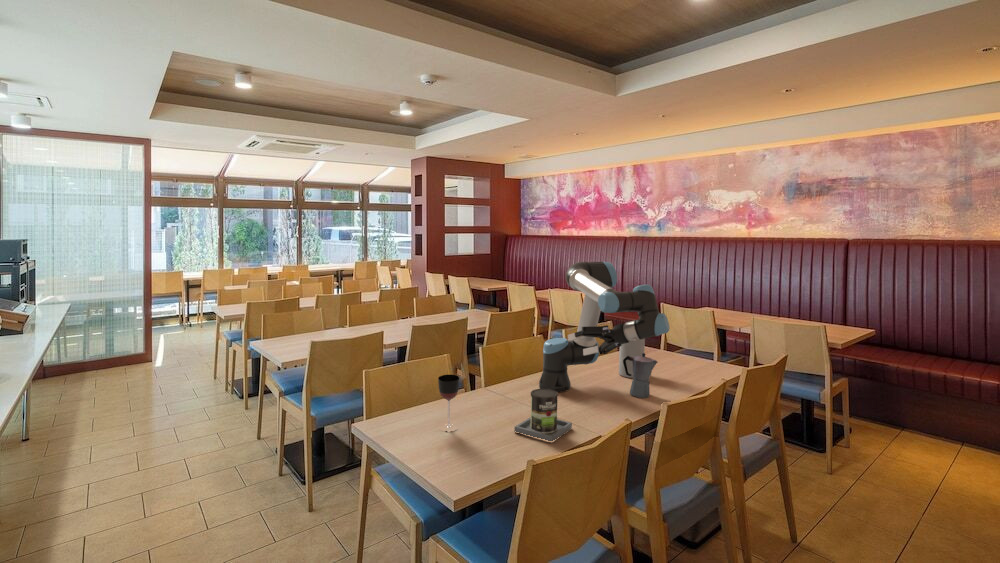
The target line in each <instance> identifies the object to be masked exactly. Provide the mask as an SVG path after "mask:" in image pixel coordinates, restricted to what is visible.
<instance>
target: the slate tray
mask: <svg viewBox="0 0 1000 563" xmlns="http://www.w3.org/2000/svg"><path fill="white" fill-rule="evenodd" d="M530 423H531V416H529V417H528V418H526V419H525V420H523V421H521V422H519V423H518V424H517V425H515V426H514V432H515V431H516V432H519V433H523V434H526V435H530V436H533V437H537V438H541V439H545V440H548V441H553V440H555V439H557V438H558V437H560V436H561V435H563V434H564V433H566V432H567V431H568V432H570V431H571V430H572V429H573V428H572V427H573V423H572V422H570V421H568V420H567V421H566V420H562V419H559V418H557V430H556V431H555V432H553V433H550V434H544V433H540V432H537V431H533V430H531V429H530ZM571 428H572V429H571ZM570 429H571V430H570ZM569 430H570V431H569ZM568 432H567V433H568ZM567 433H566V434H567ZM564 435H565V434H564ZM564 435H563V436H564ZM560 438H561V437H560Z"/></svg>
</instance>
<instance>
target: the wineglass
mask: <svg viewBox="0 0 1000 563" xmlns="http://www.w3.org/2000/svg"><path fill="white" fill-rule="evenodd" d="M437 378H438V379H437V381H438V384H437V385H438V390H439V395H440V396H441V397H442V398H443V399H444V400H446V401H447V424H448V426H447V428H450V427H451V426H450V424H451V400H452V399H455V398H456V396H457V395H458V393H459V387H460V376H459V375H456V374H443V375H440V376H438V377H437Z"/></svg>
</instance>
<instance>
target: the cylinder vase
mask: <svg viewBox="0 0 1000 563" xmlns="http://www.w3.org/2000/svg"><path fill="white" fill-rule="evenodd" d="M645 342H646V338H645V339H641V340H637V341H633V342H630V341H629V343H625V344H622V346H620V347H619V356H618V374H619V375H620V376H621V377H624V378H627V379H633V375H634V374H633V361H630V360H626V365H627V370H628V373H629V374H632V375H631V376H628V375H626V372H625V367H624V364H623V360H624V359H625V358H626V357H627V356H630V357H636V356H642V353H645V347H646V346H645V344H646V343H645Z"/></svg>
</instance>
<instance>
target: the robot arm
mask: <svg viewBox="0 0 1000 563" xmlns="http://www.w3.org/2000/svg"><path fill="white" fill-rule="evenodd" d="M565 281H566V283H567V285H568V287H570V288H571V289H572V290H574V291H577V292H582V293H583V294H584V298H583V301H582V307H581V312H580V316H579V321H578V326H577V331H576V332H572V333H569V334H567V338H565V337H553V338H550V339H547V340H546V341H544V344H543V350H542V353H543V354H542V358H543V359H542V360H543V361H542V373H541V376H540V379H539V382H538V389H550V390H554V391H556V392H557V393H562V392H564V393H565V392H568V391H570V390H571V385H572V384H571V380H570V377H569V374H568V366H578V365H590V364H594V363H595V362H596V361H597V360H598V359H599V357H600V356H599V355H606V354H608V353H610V352H612V351H613V350H615V349H617V348H620V346H622V344H625V343H629V341H630V342H633V341H637V340H641V339H645V340H646V339H648V338H653V337H659V336H662V335H663V334H664V335H665V334H668V333H669V331H670V322H669V320H668V317H667V315H666V313H663V312H662V313H661V312H660V311H659V307H658V304H657V303H658V302H657V298H656V294H655V290H654V287H653V286H652V285H650V284H640V285H639V284H638V285H637V286H635V287H634V288H633V289H632V291H617V290H615V289H614V287H616V285H617V282H618V275H617V270H616V268H615V266H614V264H613V263H611V262H610V261H602V260H601V261H578V262H575V263H573V264H572V265H570V266H569V267H568V269H567V271H566V272H565ZM601 312H602V313H606V314H607V313H608V314H613V313H614V314H615V313H629V312H630V313H631V312H633V313H634V312H637V315H638V319H635V320H631V321H626V322H625V323H619V324H616V325H614V326H613V328H610V329H609V325H602V326H598V324H599V319H600V317H601ZM597 338H599V339H601V340H603V342H602V343H601V345H600V344H599V343H598V341H597Z"/></svg>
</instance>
